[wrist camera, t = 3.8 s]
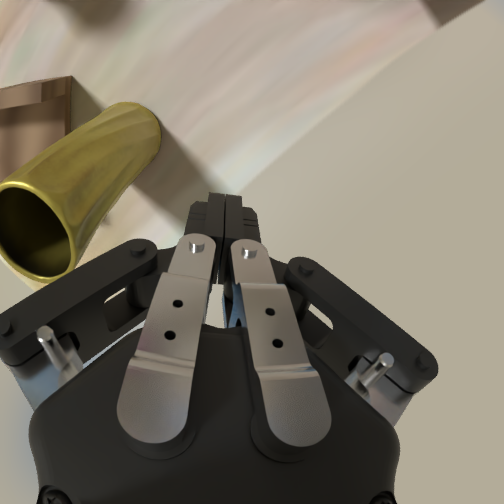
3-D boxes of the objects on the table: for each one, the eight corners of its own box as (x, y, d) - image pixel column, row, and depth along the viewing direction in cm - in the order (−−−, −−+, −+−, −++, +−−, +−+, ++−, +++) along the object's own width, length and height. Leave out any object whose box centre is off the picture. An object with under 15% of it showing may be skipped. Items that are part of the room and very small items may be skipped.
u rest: (71, 75, 16) (41, 82, 12) (74, 192, 23) (52, 217, 19) (-22, 94, 14) (-51, 107, 10) (-12, 188, 20) (-35, 209, 17)
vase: (154, 176, 23) (91, 304, 11) (91, 165, 21) (-5, 274, 10) (168, 107, 19) (84, 180, 8) (98, 97, 18) (-29, 163, 6)
